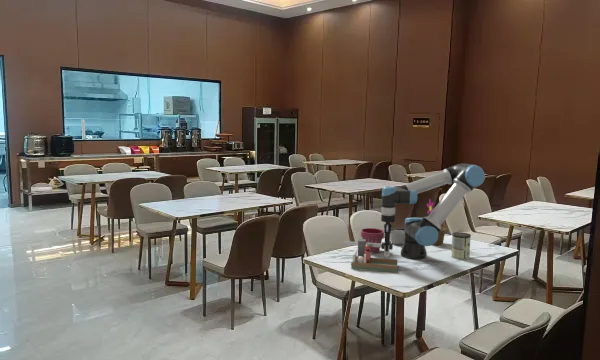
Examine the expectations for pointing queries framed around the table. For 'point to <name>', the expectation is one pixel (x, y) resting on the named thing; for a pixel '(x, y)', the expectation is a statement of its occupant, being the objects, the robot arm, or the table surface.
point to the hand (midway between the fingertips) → (386, 255)
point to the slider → (368, 248)
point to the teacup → (397, 237)
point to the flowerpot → (443, 230)
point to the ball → (360, 259)
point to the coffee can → (460, 245)
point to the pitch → (372, 261)
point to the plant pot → (372, 237)
